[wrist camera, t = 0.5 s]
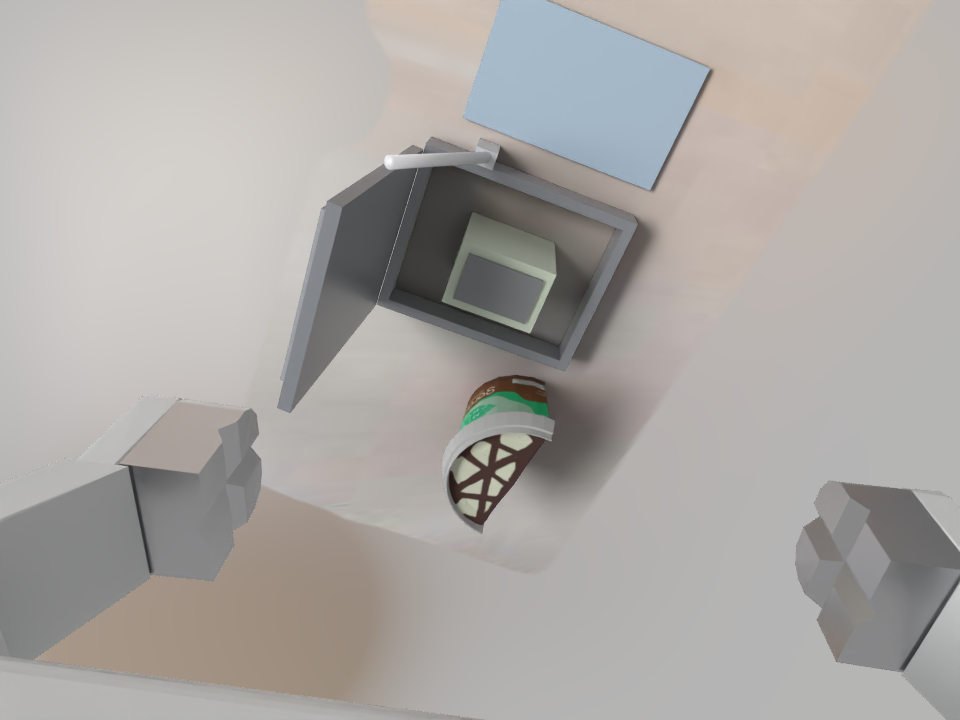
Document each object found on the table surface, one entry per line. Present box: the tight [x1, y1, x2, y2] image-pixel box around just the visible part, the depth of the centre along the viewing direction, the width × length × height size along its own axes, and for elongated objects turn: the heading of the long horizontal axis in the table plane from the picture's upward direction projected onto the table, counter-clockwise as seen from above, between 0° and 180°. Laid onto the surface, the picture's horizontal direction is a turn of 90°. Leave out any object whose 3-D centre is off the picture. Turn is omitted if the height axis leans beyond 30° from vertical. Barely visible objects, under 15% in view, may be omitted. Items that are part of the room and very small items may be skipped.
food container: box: [442, 375, 555, 534], centre depth 56 cm, size 12×6×10 cm, turn 152°
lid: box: [277, 145, 423, 413], centre depth 42 cm, size 13×17×1 cm
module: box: [441, 212, 557, 333], centre depth 50 cm, size 5×7×7 cm
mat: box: [463, 0, 710, 191], centre depth 47 cm, size 9×15×1 cm, turn 70°
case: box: [377, 137, 638, 372], centre depth 47 cm, size 15×18×13 cm
